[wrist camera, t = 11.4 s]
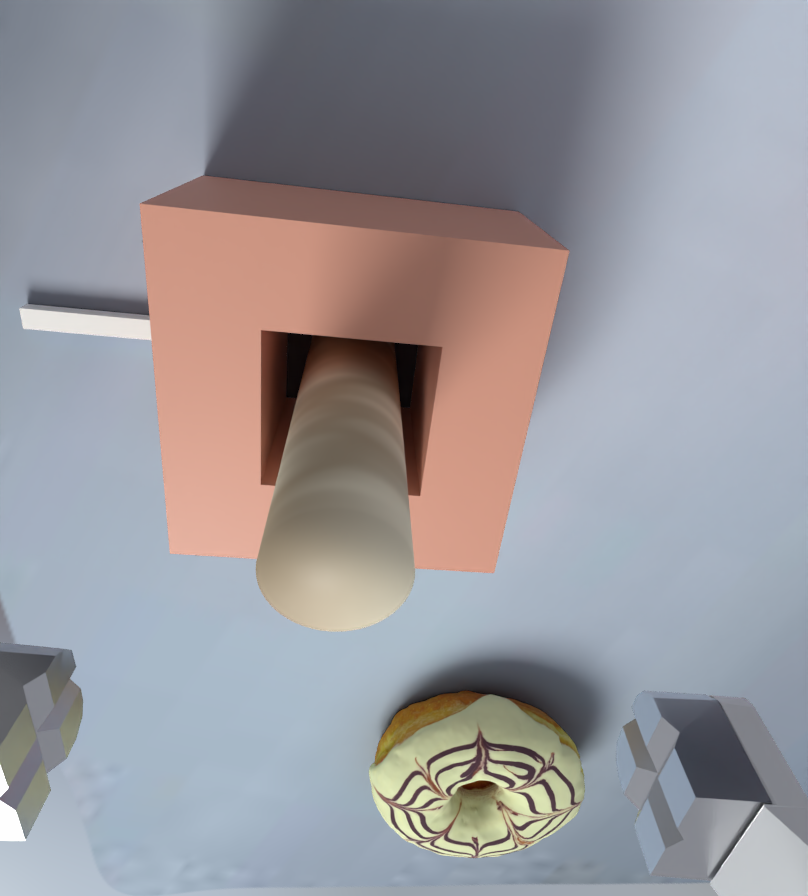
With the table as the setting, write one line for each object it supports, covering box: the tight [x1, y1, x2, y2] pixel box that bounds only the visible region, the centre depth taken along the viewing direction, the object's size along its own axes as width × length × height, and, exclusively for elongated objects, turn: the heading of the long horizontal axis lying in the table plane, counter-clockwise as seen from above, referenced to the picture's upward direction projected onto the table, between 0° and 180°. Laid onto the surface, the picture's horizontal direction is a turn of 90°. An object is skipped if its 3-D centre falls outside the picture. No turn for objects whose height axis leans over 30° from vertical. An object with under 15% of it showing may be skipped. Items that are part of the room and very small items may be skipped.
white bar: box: [19, 304, 152, 340], centre depth 21 cm, size 6×1×1 cm, turn 83°
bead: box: [140, 175, 569, 573], centre depth 20 cm, size 10×10×6 cm
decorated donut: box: [369, 691, 585, 858], centre depth 32 cm, size 10×11×4 cm
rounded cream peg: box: [256, 335, 415, 631], centre depth 17 cm, size 3×3×12 cm
